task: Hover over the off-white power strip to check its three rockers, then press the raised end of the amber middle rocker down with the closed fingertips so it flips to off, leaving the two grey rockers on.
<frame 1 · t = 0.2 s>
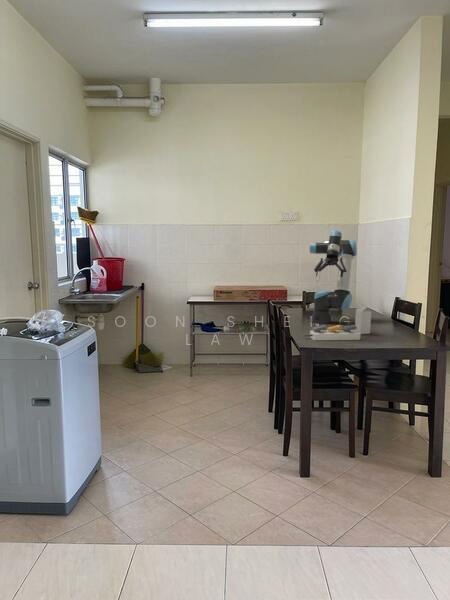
hand: (328, 281, 274), 36 cm above the table, tool tilted 35°, fingers open, 13 cm apart
power strip: (334, 338, 273), on the table
rocker mid: (334, 328, 273), point 6 cm above the table, hinge at 14.0°
milk carton: (362, 333, 289), on the table
rocker 2: (349, 328, 274), point 6 cm above the table, hinge at 14.0°
rocker 1: (319, 328, 273), point 6 cm above the table, hinge at 14.0°
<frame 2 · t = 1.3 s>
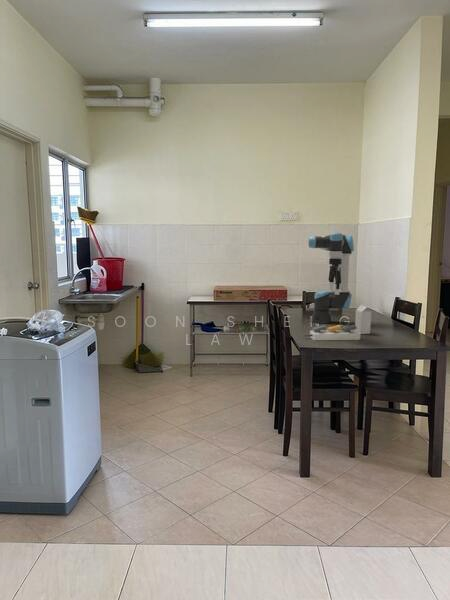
hand: (334, 293, 273), 28 cm above the table, tool pointing down, fingers open, 10 cm apart
nothing on the table moved.
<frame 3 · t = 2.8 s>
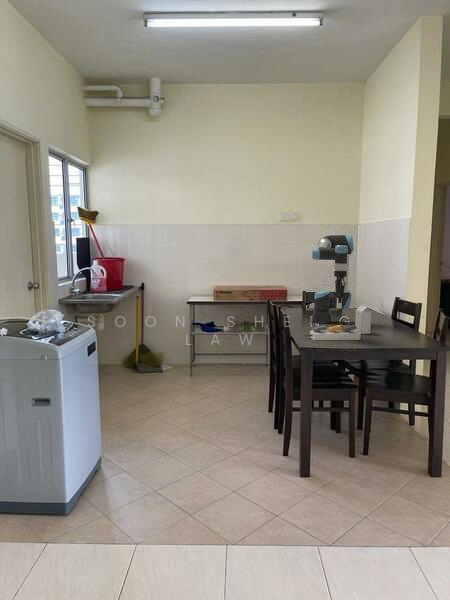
hand: (339, 307, 272), 19 cm above the table, tool pointing down, fingers closed
nothing on the table moved.
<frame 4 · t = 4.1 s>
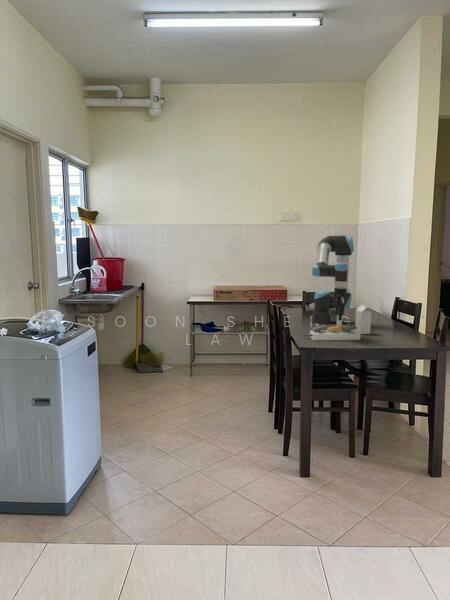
hand: (339, 325, 273), 8 cm above the table, tool pointing down, fingers closed
rocker mid: (334, 328, 273), point 6 cm above the table, hinge at 14.0°, touching gripper
everything else where it was.
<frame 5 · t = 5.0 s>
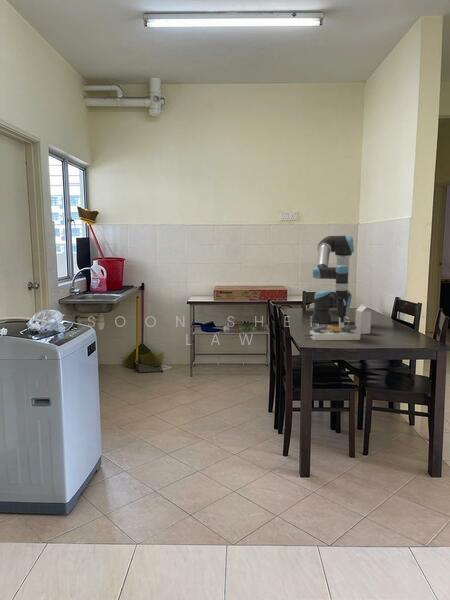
hand: (341, 327, 273), 7 cm above the table, tool pointing down, fingers closed
rocker mid: (334, 328, 273), point 6 cm above the table, hinge at -11.6°, touching gripper
everything else where it was.
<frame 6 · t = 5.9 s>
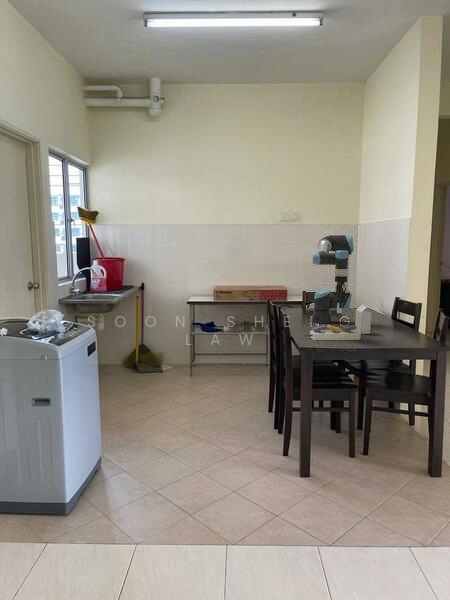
hand: (339, 313, 272), 16 cm above the table, tool pointing down, fingers closed
rocker mid: (334, 328, 273), point 6 cm above the table, hinge at -16.9°
everything else where it was.
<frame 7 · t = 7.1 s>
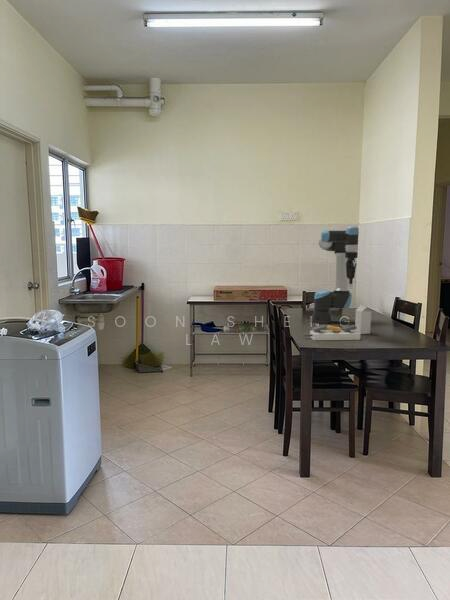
hand: (349, 288, 278), 30 cm above the table, tool pointing down, fingers closed
rocker mid: (334, 328, 273), point 6 cm above the table, hinge at -12.5°
everything else where it was.
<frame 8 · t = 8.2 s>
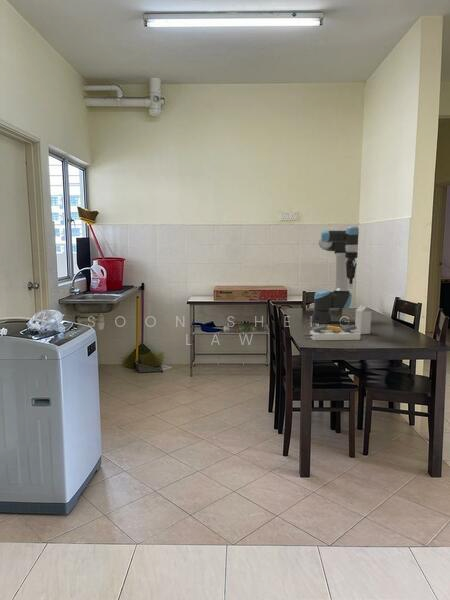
hand: (349, 288, 278), 30 cm above the table, tool pointing down, fingers closed
rocker mid: (334, 328, 273), point 6 cm above the table, hinge at -10.8°
everything else where it was.
at the end: rocker mid at -11° (first picture: +14°); rocker 1 at +14° (first picture: +14°); rocker 2 at +14° (first picture: +14°) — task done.
